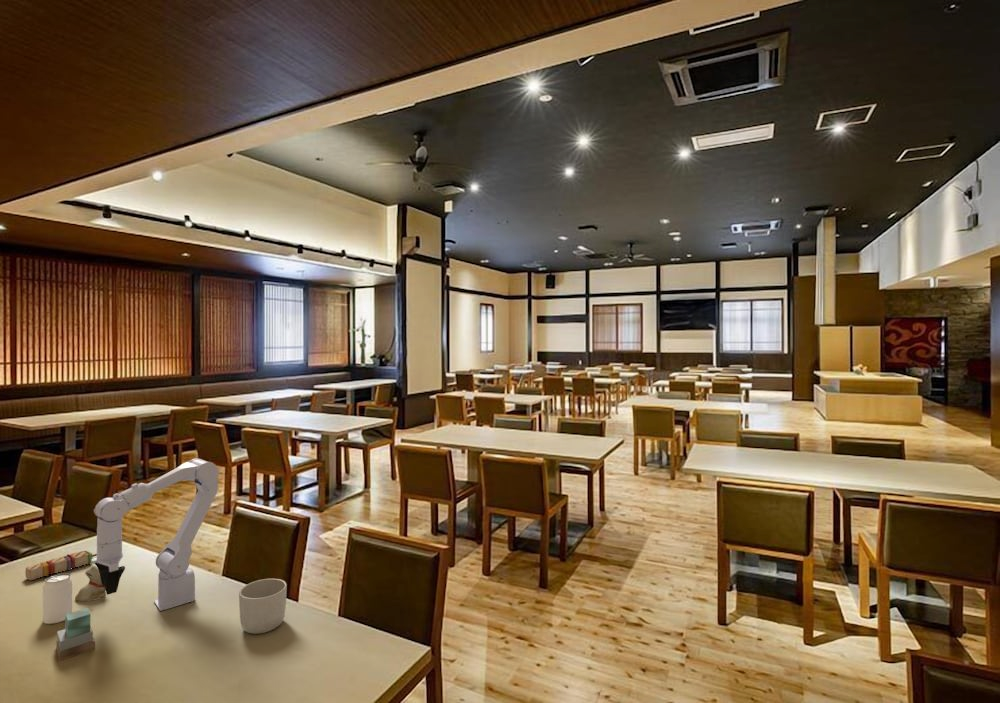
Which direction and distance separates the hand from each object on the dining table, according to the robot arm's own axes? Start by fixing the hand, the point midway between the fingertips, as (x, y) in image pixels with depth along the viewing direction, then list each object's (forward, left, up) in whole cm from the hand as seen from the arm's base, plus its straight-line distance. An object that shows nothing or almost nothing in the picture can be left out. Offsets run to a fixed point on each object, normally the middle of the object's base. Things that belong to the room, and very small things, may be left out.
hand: (109, 588), depth 145 cm
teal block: (+8, +8, -6) cm, 13 cm away
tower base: (+8, +8, -11) cm, 16 cm away
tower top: (+8, +8, -8) cm, 14 cm away
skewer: (+5, -54, -11) cm, 55 cm away
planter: (-31, +31, -11) cm, 45 cm away
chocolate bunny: (+1, -23, -11) cm, 25 cm away
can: (+10, -14, -11) cm, 20 cm away
